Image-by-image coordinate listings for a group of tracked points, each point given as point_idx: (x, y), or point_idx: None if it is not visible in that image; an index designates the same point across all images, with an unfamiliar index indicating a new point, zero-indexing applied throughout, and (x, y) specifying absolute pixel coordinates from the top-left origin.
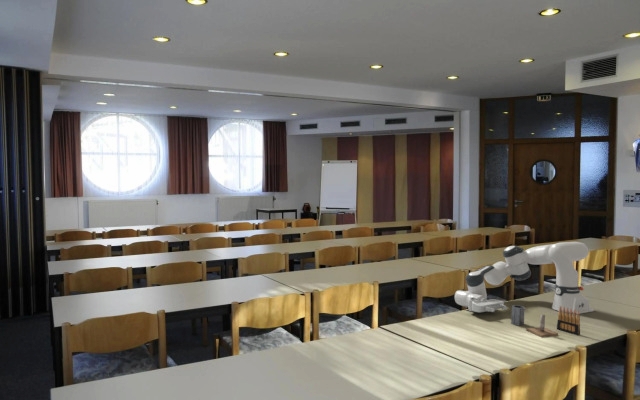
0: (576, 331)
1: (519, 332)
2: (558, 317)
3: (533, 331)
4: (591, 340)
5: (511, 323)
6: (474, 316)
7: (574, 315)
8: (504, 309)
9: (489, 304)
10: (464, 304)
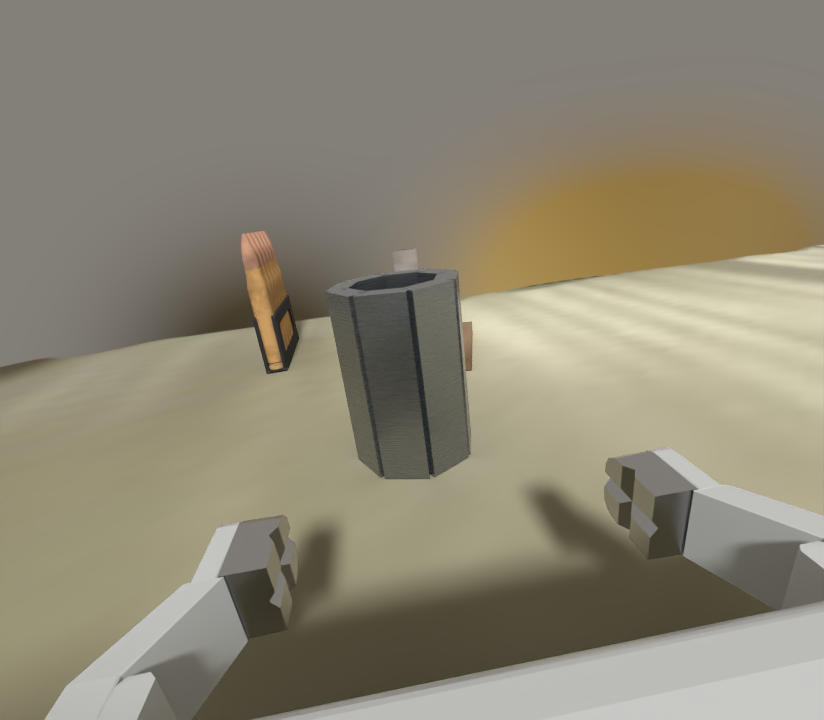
0: (295, 325)
1: (541, 358)
2: (268, 303)
3: (468, 338)
4: (317, 320)
5: (469, 450)
6: None
7: (272, 260)
8: (296, 563)
9: (719, 631)
10: None
